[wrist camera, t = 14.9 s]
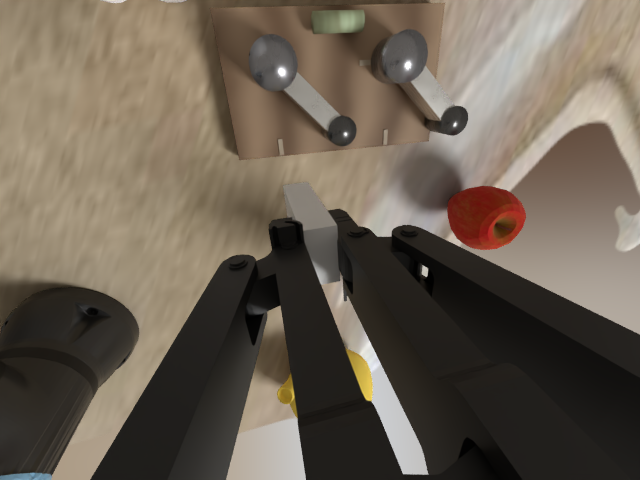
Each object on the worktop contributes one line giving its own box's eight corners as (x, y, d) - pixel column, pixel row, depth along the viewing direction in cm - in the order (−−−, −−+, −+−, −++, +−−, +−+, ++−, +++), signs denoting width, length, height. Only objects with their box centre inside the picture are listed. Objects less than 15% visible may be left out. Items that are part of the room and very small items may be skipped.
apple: (452, 235, 47) (501, 271, 37) (419, 211, 43) (464, 243, 34) (490, 193, 44) (553, 219, 35) (457, 163, 41) (518, 184, 31)
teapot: (248, 365, 51) (246, 448, 39) (306, 310, 48) (322, 382, 36) (324, 398, 60) (341, 474, 48) (377, 354, 57) (409, 423, 45)
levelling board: (240, 156, 34) (238, 163, 31) (212, 13, 28) (207, 2, 24) (420, 139, 38) (436, 143, 35) (434, 7, 31) (455, -3, 28)
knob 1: (240, 69, 28) (238, 65, 25) (267, 30, 27) (268, 21, 24) (330, 151, 34) (339, 157, 30) (355, 121, 33) (366, 124, 29)
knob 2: (362, 63, 30) (376, 58, 27) (391, 26, 29) (409, 16, 26) (429, 140, 36) (448, 145, 32) (455, 112, 35) (477, 114, 31)
